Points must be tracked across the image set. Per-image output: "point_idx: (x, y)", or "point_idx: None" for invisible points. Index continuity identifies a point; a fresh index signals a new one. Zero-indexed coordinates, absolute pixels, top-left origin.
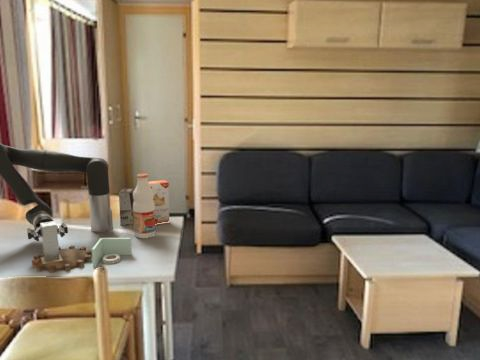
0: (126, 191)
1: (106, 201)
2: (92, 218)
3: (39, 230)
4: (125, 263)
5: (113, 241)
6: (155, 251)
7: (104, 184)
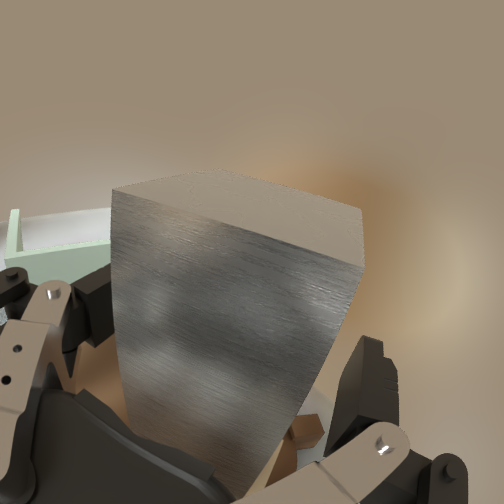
0: None
1: None
2: None
3: (294, 477)
4: None
5: (18, 242)
6: (4, 238)
7: None
